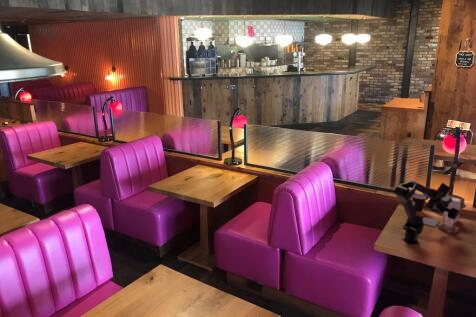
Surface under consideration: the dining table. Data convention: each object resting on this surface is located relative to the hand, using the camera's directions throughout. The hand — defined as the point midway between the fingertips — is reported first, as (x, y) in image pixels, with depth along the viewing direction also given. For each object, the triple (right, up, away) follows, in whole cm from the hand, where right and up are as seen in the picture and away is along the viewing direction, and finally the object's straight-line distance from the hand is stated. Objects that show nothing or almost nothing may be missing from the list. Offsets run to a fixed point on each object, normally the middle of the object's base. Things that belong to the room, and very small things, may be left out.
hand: (447, 216), depth 241 cm
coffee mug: (-4, -1, +31) cm, 32 cm away
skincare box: (+11, -5, +18) cm, 22 cm away
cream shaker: (+3, -9, +4) cm, 10 cm away
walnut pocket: (+3, -9, +4) cm, 10 cm away
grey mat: (-4, -6, +14) cm, 16 cm away
